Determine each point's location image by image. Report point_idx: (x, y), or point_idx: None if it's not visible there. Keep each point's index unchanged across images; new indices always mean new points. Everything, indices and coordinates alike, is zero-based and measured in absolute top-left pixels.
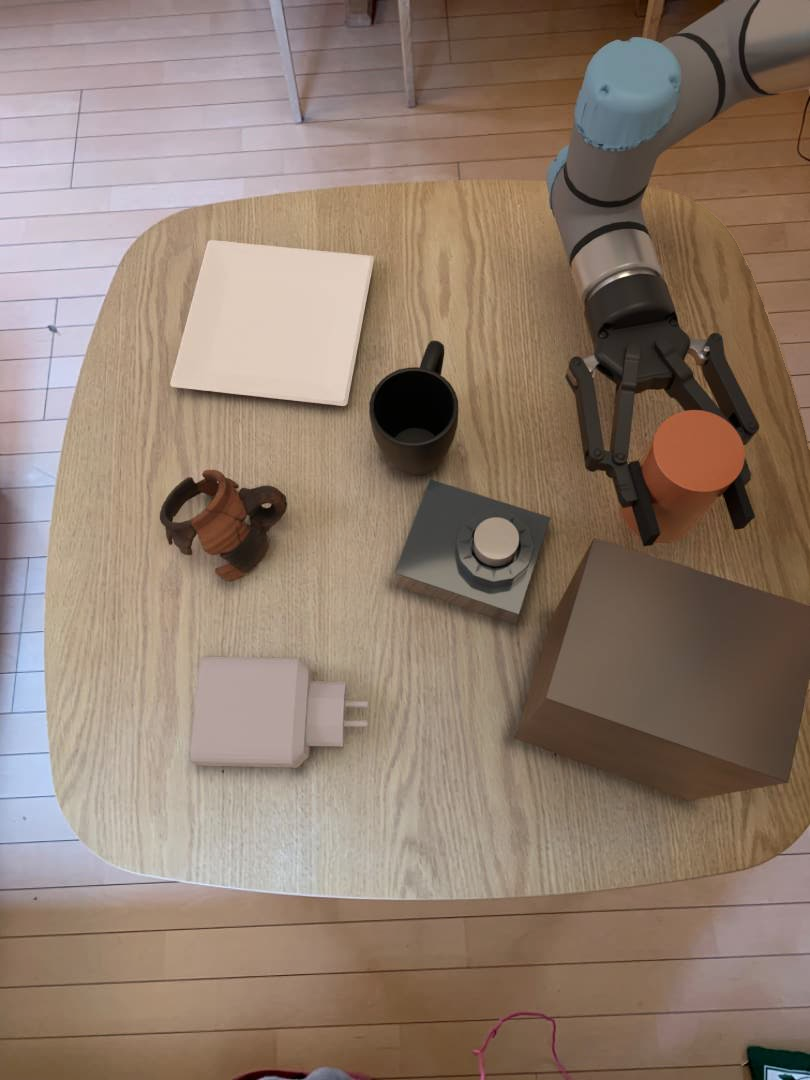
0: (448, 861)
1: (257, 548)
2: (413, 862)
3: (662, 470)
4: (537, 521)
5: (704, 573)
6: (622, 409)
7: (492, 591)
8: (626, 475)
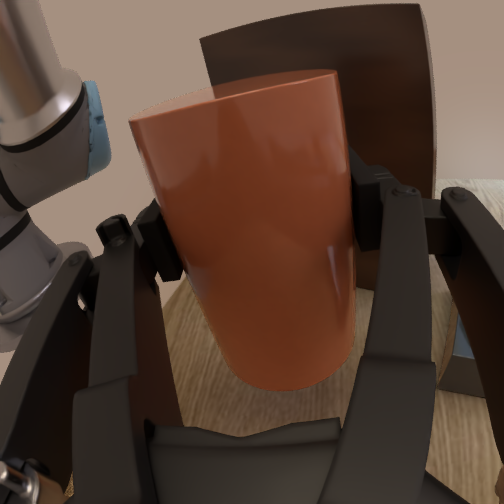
0: (450, 185)
1: None
2: (468, 185)
3: (321, 69)
4: (468, 347)
5: (295, 13)
6: (415, 290)
7: None
8: (382, 188)
